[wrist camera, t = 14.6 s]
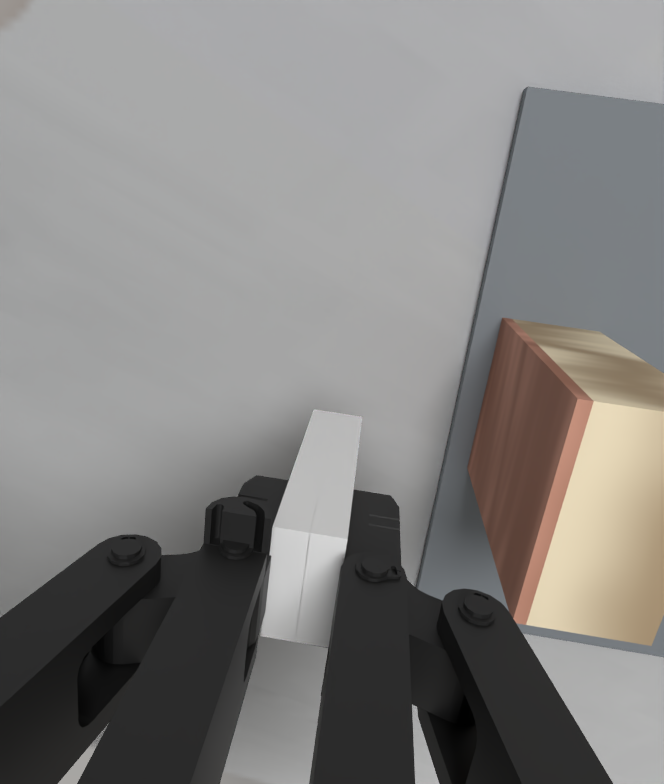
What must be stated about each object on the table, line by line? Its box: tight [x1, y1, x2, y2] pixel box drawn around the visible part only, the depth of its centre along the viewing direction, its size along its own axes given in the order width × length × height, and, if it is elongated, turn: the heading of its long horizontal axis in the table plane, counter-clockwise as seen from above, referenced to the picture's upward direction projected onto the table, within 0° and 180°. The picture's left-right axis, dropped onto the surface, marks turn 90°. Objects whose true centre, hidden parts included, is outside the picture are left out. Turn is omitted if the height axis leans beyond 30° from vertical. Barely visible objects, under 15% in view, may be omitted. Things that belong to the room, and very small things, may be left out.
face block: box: [467, 318, 664, 646], centre depth 20 cm, size 4×7×10 cm, turn 173°
